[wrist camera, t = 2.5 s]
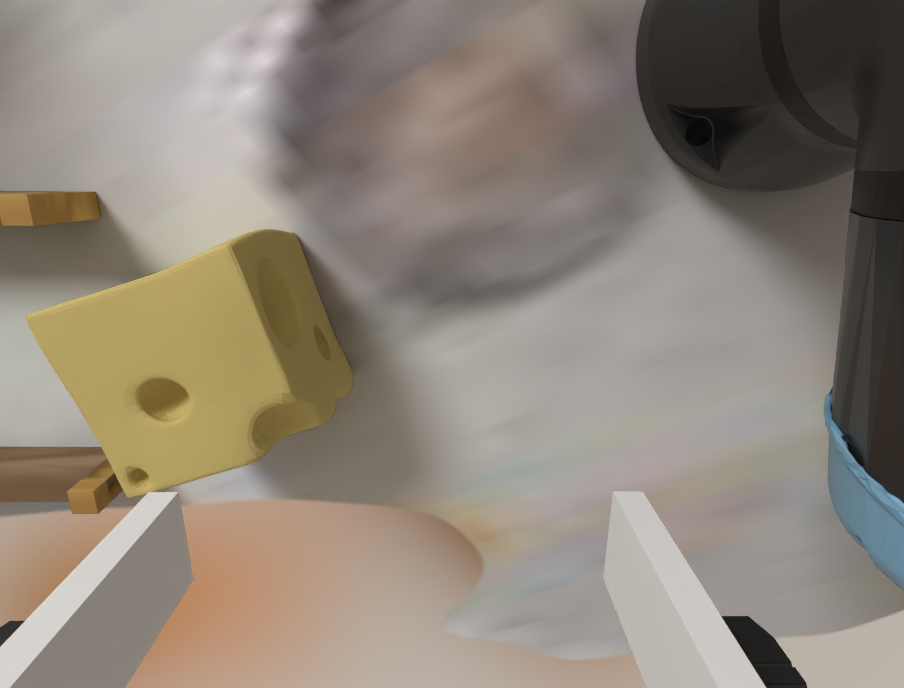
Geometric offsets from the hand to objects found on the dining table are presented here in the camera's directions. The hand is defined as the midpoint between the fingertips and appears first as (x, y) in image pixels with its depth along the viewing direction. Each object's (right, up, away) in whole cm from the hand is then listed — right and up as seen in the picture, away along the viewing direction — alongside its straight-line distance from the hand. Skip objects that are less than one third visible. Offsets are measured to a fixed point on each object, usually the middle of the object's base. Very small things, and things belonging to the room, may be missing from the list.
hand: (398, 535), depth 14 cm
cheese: (-11, +6, +19) cm, 23 cm away
